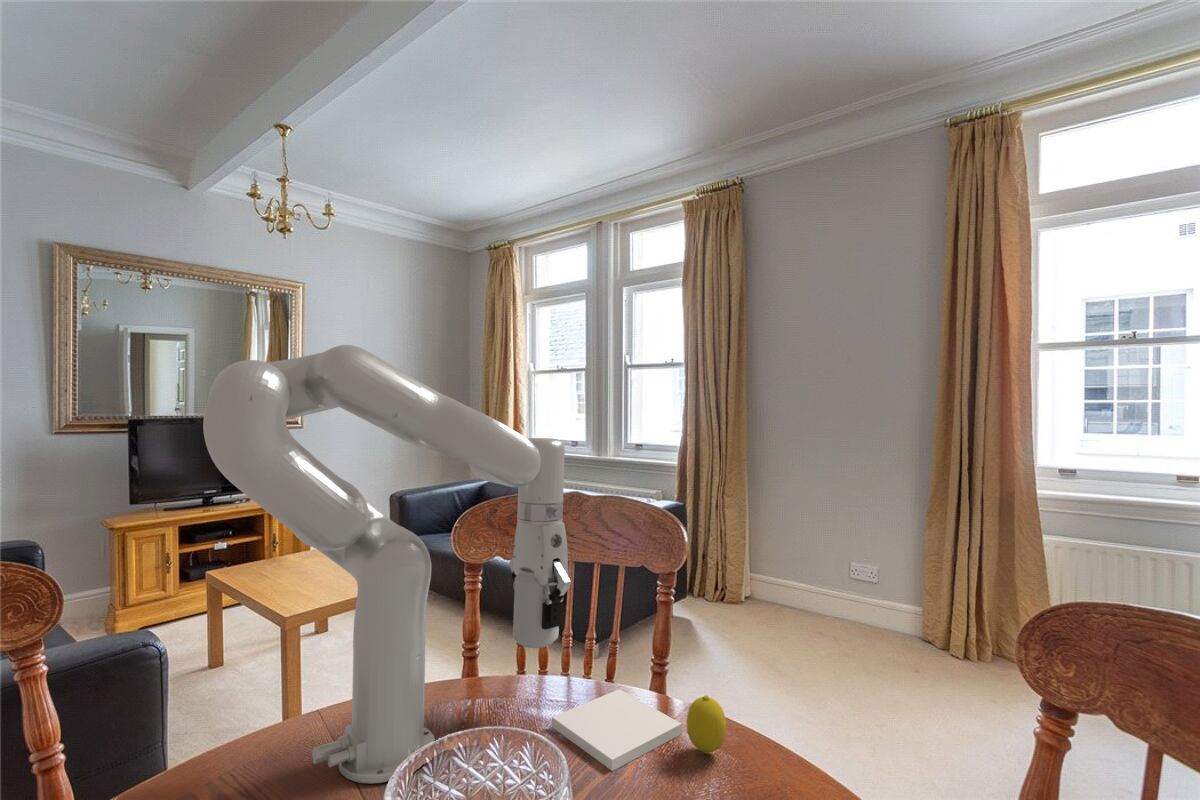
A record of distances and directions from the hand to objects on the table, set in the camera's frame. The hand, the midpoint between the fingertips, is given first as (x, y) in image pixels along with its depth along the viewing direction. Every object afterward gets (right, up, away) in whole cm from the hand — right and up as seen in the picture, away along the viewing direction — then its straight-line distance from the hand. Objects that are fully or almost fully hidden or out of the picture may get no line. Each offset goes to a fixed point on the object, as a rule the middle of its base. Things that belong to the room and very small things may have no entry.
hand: (536, 619), depth 92 cm
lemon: (+26, -14, -13) cm, 32 cm away
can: (0, -4, 0) cm, 4 cm away
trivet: (+13, -14, -7) cm, 20 cm away
